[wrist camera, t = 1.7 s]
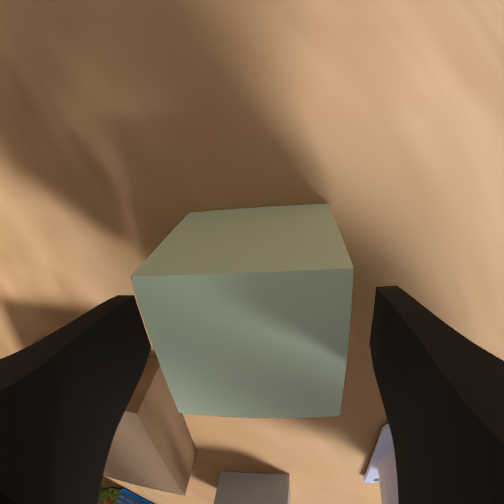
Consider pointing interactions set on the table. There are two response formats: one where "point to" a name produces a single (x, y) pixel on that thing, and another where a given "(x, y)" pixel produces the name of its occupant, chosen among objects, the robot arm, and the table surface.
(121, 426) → the walnut block
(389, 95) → the table surface
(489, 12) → the table surface
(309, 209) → the sage cube
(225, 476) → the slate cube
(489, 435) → the robot arm
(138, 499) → the blue food package
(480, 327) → the table surface
